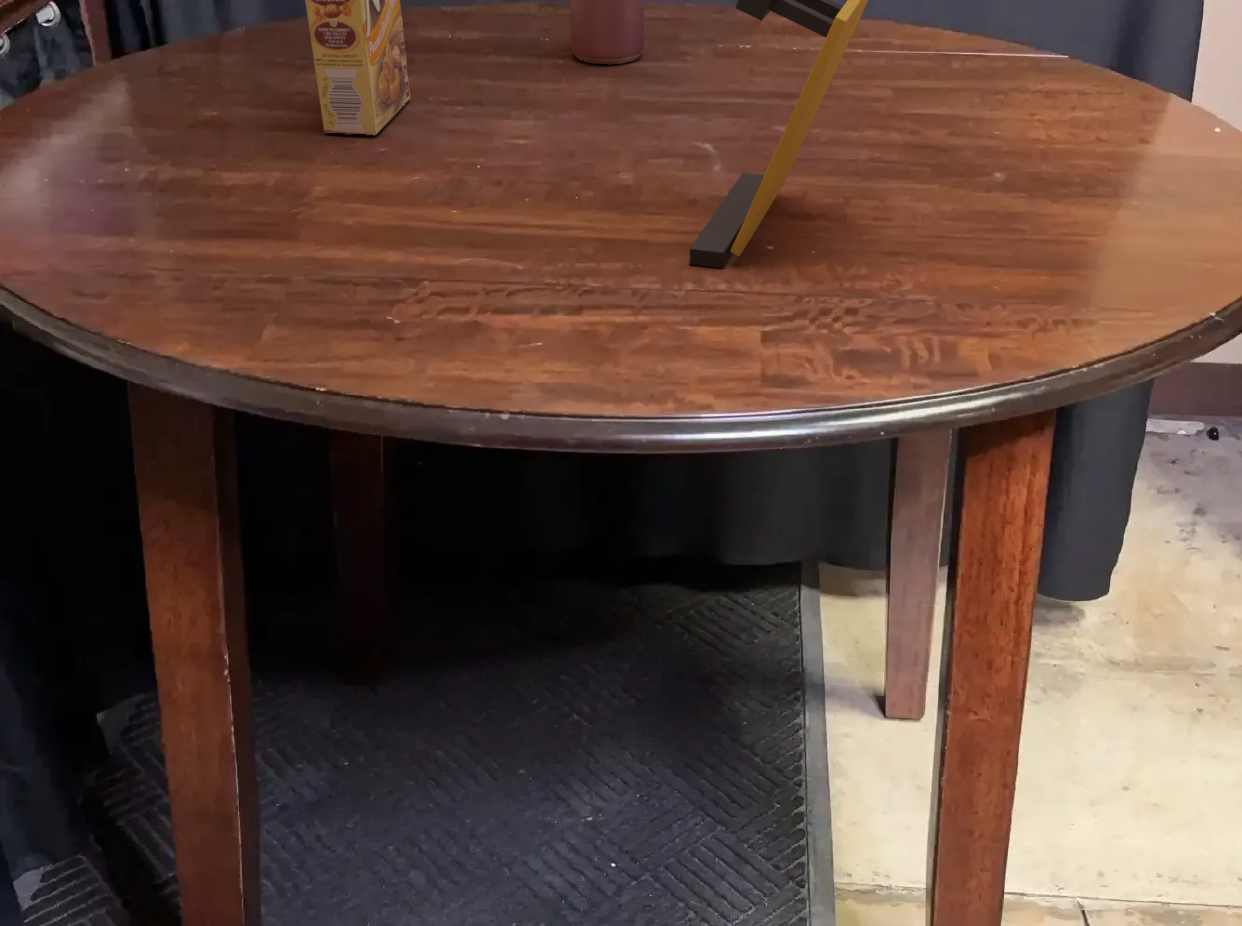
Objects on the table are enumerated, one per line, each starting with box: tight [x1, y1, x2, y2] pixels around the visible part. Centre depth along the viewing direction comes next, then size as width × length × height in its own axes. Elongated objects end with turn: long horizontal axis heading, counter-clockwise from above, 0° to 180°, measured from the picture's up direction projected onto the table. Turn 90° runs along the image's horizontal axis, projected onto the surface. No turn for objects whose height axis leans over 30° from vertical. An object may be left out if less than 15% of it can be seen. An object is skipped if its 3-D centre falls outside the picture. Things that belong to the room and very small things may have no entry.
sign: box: [731, 0, 869, 257], centre depth 80 cm, size 14×12×6 cm
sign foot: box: [689, 172, 765, 269], centre depth 85 cm, size 2×13×1 cm, turn 163°
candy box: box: [304, 0, 411, 137], centre depth 98 cm, size 9×4×15 cm, turn 171°
